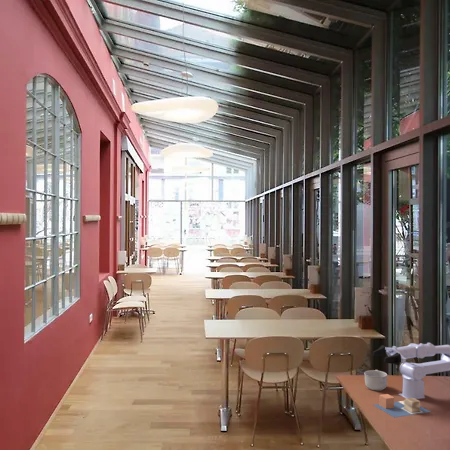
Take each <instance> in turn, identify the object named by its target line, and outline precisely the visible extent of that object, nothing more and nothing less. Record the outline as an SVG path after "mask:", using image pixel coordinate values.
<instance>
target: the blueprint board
mask: <svg viewBox="0 0 450 450" xmlns="http://www.w3.org/2000/svg"><path fill="white" fill-rule="evenodd" d="M404 401H405V400H401V401H394V408H388V409H385V408H383V407H382V406H380V405H379V403H377V404H373V406H374V407H375V408H377V409H379V410H381V412H382V411H383V412H384V413H386V414H388V415H389V416H391V417H393V418H401V417H406V416H413V415H414V416H415V415H419V414H427V413H431V412H432V411H431V410H429V409H426V408H425V407H423V406H421V405H420V412H413V413H411V412H409V411H407V410H405V409H404Z"/></svg>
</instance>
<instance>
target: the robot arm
mask: <svg viewBox="0 0 450 450" xmlns="http://www.w3.org/2000/svg"><path fill="white" fill-rule="evenodd" d="M436 354H441V357H440V360H433V361H428V362H427V361H426V362H422V363H415V362H408V361H407V359H414V358H419V359H424V358H425V357H434V356H435V355H436ZM386 355H387V356H386ZM372 357H373V358H374V357H379V358H380V357H381V358H383V363H385V364H391V365H395V366H398V367H399V372H400V374H401V377H402V393H401V392H400V393H398V395H399V396H401V397H403V398H404V399H406V398H414V399H416V400H420V399H425V398H426V397H425V382H424V380H423V378H426V375H431V374H437V373H442V372H443V373H444V372H450V344H442V345H434V344H433V343H431V342H426V343H419V344H417V343H414V342H413V343H412V342H411V343H409V344H408V345H404V346H399V347H397V346H395V345H392V347H387V346H385V345H383V344H382V345H380V346H379V347H378V348H377V349H375V350H374V351H372Z"/></svg>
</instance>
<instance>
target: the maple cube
mask: <svg viewBox="0 0 450 450" xmlns="http://www.w3.org/2000/svg"><path fill="white" fill-rule="evenodd" d="M403 401H404V409H405V410H407V411H409V412H411V413H413V412H420V406H421V401H420V399H414V398H404V400H403Z"/></svg>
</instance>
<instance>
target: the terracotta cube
mask: <svg viewBox="0 0 450 450" xmlns="http://www.w3.org/2000/svg"><path fill="white" fill-rule="evenodd" d="M394 402H395V397H394V396H392V395H390V394H388V393H385V394H384V393H383V394H379V395H378V404H379V405H380V406H382V407H383V408H385V409H388V408H394Z"/></svg>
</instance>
